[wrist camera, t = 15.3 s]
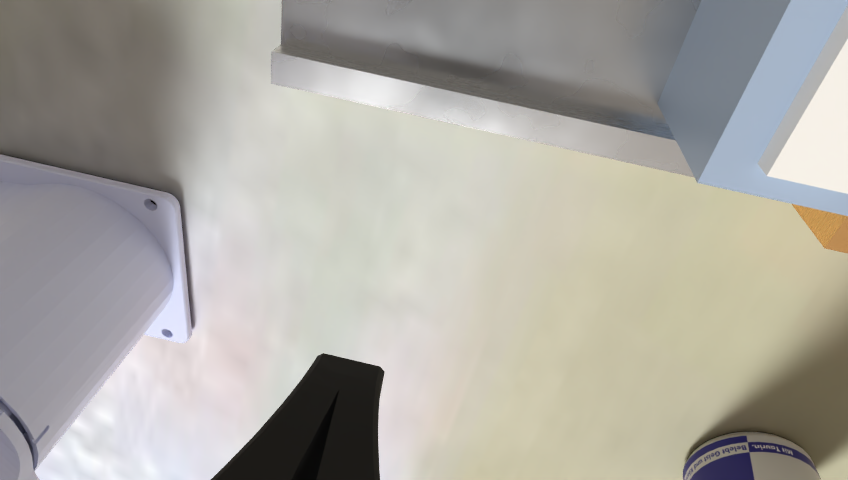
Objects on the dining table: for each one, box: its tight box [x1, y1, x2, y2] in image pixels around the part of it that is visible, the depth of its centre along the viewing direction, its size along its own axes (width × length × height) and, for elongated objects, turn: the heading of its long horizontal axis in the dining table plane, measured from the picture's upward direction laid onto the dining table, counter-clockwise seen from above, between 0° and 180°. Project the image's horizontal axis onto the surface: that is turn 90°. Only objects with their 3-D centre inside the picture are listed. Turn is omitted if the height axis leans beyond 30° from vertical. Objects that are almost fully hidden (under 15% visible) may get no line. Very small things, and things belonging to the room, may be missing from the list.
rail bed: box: [271, 0, 848, 253], centre depth 15 cm, size 18×9×4 cm, turn 80°
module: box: [657, 0, 848, 216], centre depth 13 cm, size 4×6×6 cm
